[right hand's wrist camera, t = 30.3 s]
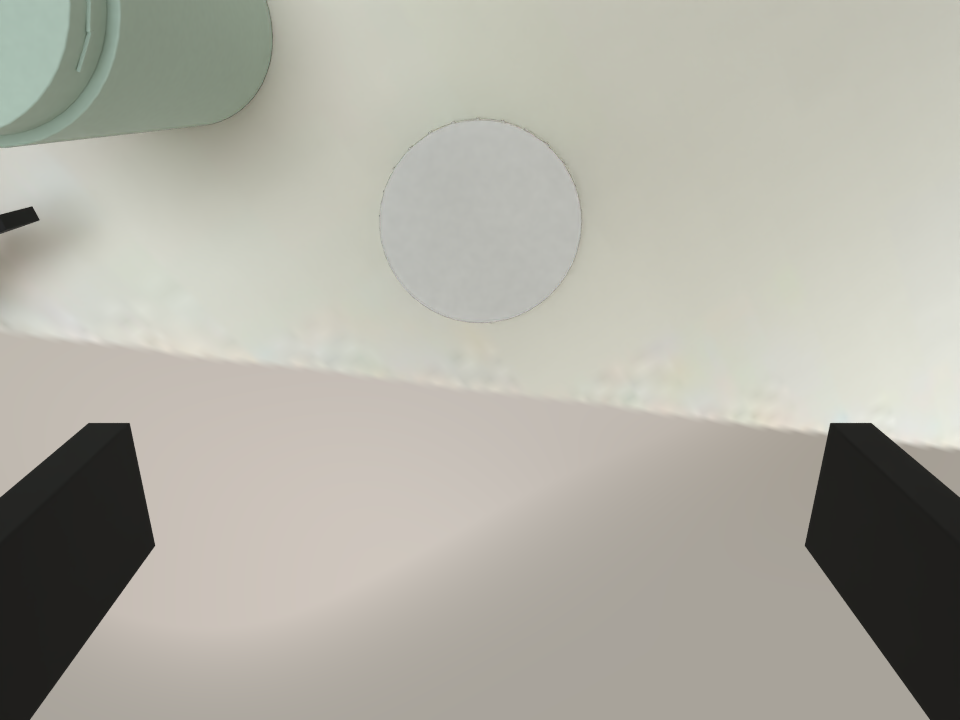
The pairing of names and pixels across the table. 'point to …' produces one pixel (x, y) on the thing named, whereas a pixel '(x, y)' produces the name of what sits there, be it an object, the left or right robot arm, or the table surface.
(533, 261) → the lid
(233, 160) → the table surface
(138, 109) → the jar
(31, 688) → the right robot arm
